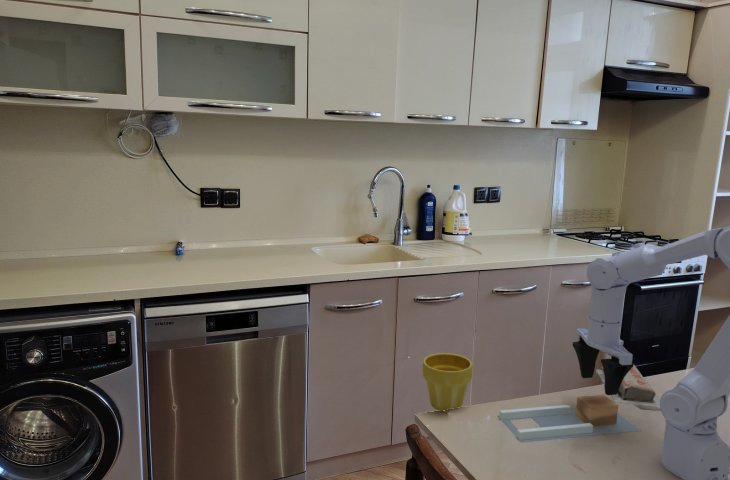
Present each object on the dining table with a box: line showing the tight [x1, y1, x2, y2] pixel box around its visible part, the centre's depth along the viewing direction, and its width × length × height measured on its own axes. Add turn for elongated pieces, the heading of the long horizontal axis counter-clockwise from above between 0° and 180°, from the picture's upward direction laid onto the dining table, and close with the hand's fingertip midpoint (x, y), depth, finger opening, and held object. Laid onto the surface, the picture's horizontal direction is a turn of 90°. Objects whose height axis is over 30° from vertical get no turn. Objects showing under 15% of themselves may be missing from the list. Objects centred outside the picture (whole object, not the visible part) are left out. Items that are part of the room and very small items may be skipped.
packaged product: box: [595, 364, 661, 412], centre depth 123 cm, size 18×5×10 cm
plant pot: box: [422, 352, 474, 413], centre depth 113 cm, size 10×10×10 cm
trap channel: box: [497, 404, 642, 443], centre depth 106 cm, size 10×25×2 cm, turn 102°
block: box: [575, 394, 619, 426], centre depth 107 cm, size 4×6×4 cm
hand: (598, 385), depth 106 cm, fingers open, 7 cm apart
